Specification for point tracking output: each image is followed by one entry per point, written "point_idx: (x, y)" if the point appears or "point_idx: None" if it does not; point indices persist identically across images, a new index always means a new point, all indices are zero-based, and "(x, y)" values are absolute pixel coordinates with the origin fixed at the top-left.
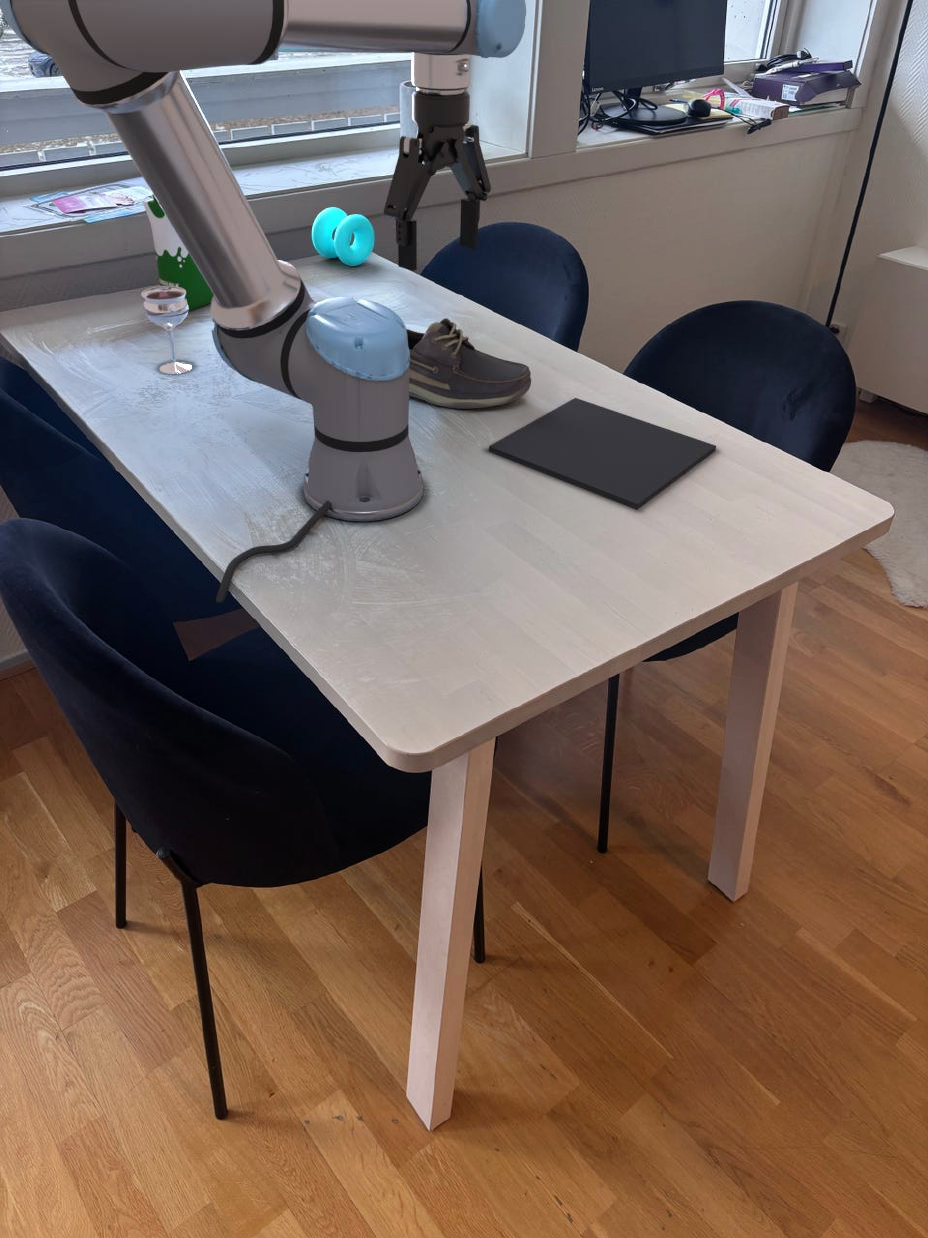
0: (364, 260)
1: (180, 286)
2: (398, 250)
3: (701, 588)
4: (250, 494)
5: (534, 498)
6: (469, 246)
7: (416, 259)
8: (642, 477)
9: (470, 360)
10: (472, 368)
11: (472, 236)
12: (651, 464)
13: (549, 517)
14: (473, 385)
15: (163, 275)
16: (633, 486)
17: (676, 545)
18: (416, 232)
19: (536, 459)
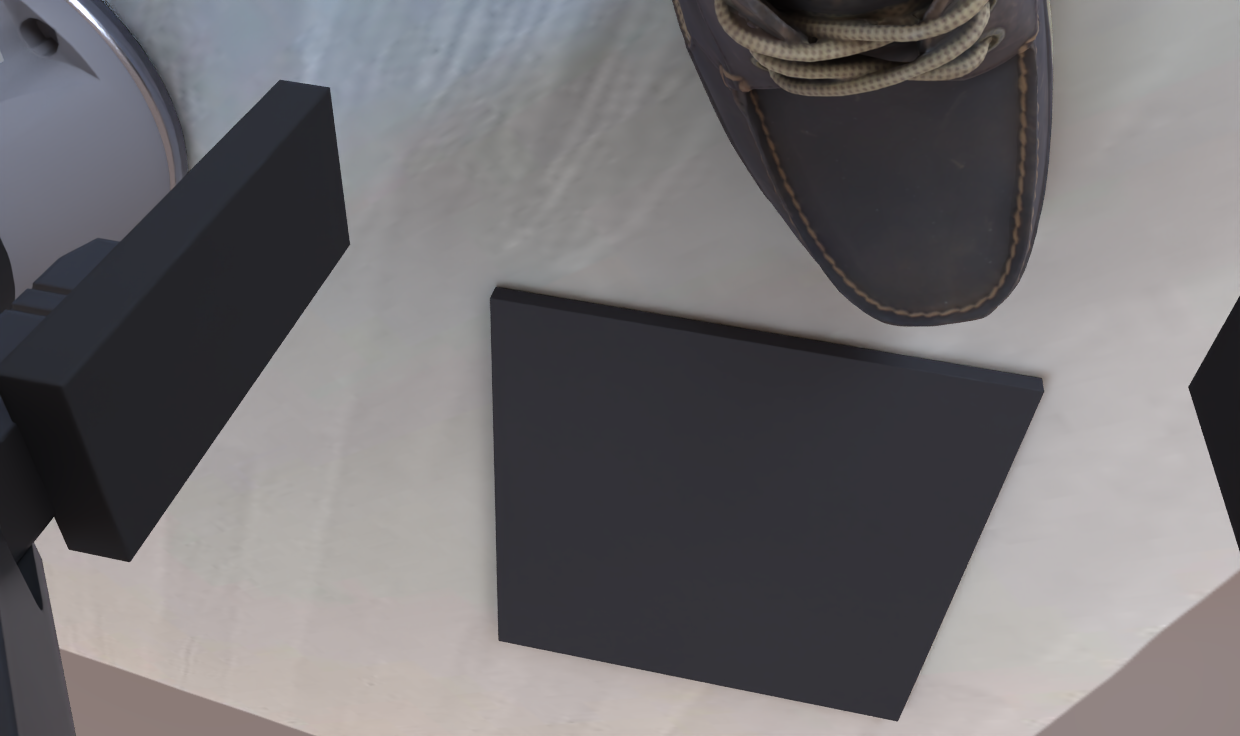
0: None
1: None
2: (206, 157)
3: (352, 726)
4: None
5: (373, 466)
6: (1217, 351)
7: (314, 293)
8: (619, 630)
9: (857, 103)
10: (821, 121)
11: (1223, 453)
12: (696, 635)
13: (332, 512)
14: (741, 147)
15: None
16: (563, 623)
17: (438, 691)
18: (195, 463)
19: (519, 430)
